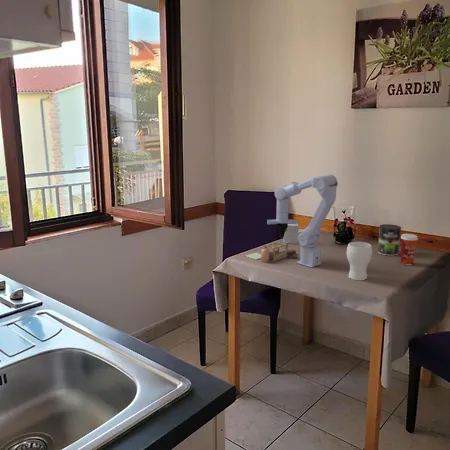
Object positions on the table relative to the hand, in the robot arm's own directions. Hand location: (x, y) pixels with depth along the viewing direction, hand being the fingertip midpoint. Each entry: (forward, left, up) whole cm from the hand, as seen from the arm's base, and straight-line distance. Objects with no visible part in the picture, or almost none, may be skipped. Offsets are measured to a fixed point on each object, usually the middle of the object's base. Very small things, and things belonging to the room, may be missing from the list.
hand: (281, 238), depth 228 cm
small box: (+14, -23, -10) cm, 29 cm away
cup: (-43, -2, -10) cm, 44 cm away
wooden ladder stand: (0, +4, -9) cm, 10 cm away
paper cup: (-48, -36, -10) cm, 61 cm away
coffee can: (-33, -45, -10) cm, 57 cm away
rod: (0, +1, -10) cm, 10 cm away
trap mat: (-5, -3, -9) cm, 11 cm away
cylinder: (0, +12, -9) cm, 15 cm away
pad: (+8, +10, -9) cm, 16 cm away
